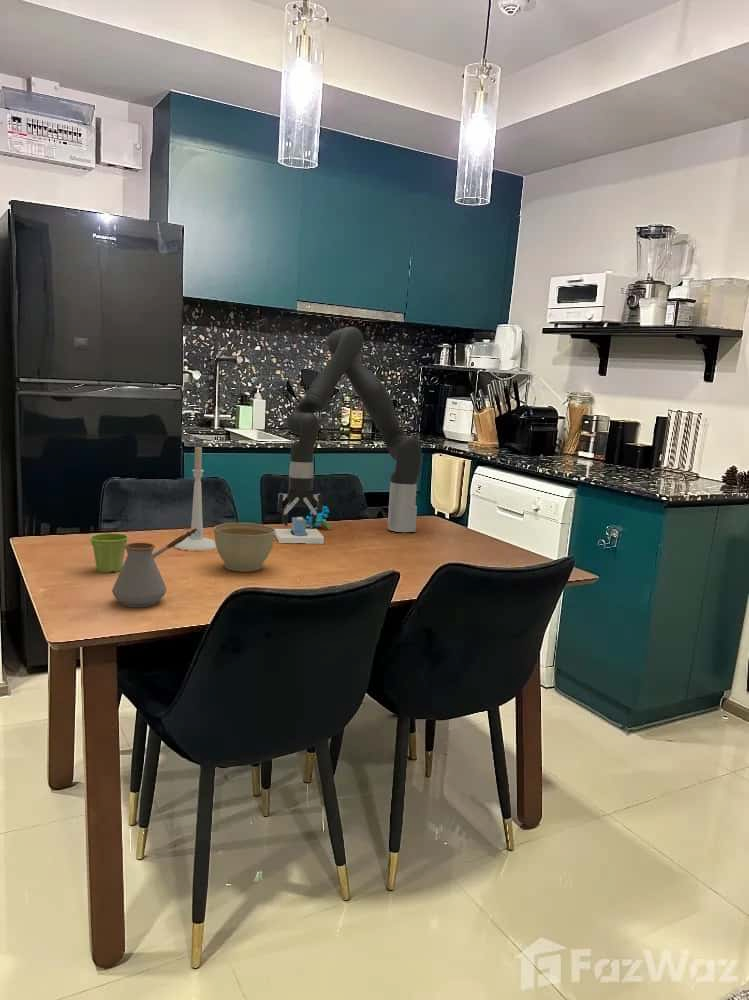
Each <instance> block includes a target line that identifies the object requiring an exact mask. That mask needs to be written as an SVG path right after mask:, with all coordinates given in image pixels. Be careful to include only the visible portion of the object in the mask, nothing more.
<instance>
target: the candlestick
mask: <svg viewBox="0 0 749 1000" xmlns="http://www.w3.org/2000/svg"><path fill="white" fill-rule="evenodd" d="M202 453H203V448H202V447H201V446H200V447H199V445H198V446H197V447H194V469H192V470H191V471H192V473H193V474H192V476H193V477H194V482H193V495H192V496H193V497H192V511H191V512H192V513H191V524H190V525H191V526H190V531H191V530H193V529H195V528H196V529H197V530H198V531H199V532H200V534H199V532H198V531H196V532H195V533H196V534H197V535H198V536H197V535H195V533H192V534H191V536H190V537H189V536H188V537H187V538H186V539H184V540H183V541H182V542H180V543H178V544H177V545H175V547H177V548H180V549H186V550H210V549H215V548H216V544H215V539H214V540H213V539H212V538H208V537H204V533H203V532H204V529H203V527H204V526H203V502H202V501H203V499H202V498H203V497H202V496H203V495H202V494H203V493H202V478H203V476H204V474H203V473H204V472H205V470H204V469H202V466H203V465H202V463H203V461H202V460H203V458H202V457H203V454H202ZM199 535H200V536H199ZM215 550H216V549H215Z"/></svg>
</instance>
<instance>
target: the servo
mask: <svg viewBox="0 0 749 1000" xmlns="http://www.w3.org/2000/svg"><path fill="white" fill-rule="evenodd" d="M306 520H307V519H306V518H304V516H297V517H296V516H294V517H293V516H292V517H291V528H290V529H291V531H292V533H291V534H292V535H294V536H306V533H305V530H306V529H307V527H306Z"/></svg>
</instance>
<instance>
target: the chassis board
mask: <svg viewBox="0 0 749 1000" xmlns="http://www.w3.org/2000/svg"><path fill="white" fill-rule="evenodd" d="M274 529H275V535H276V537H277V539H278V541H279V542H278V541H277V542H278V544H279V543H306V544H305V545H313V544H314V545H319V544H321V545H324V544H325V543H324V542H325V537H324V536H323V534H322V533H321V532H320V531H319V530H318V529H317V528H306V530H305V533H306V536H294V535H292V534H291V533H292V531H291V528H274ZM275 535H274V536H275ZM276 537H275V538H276ZM277 539H276V540H277Z"/></svg>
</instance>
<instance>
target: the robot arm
mask: <svg viewBox="0 0 749 1000" xmlns="http://www.w3.org/2000/svg"><path fill="white" fill-rule="evenodd" d="M363 335H364V334H363V332H361V330H359V329H358V328H357V327H355V326H347V327H343V328H340V329H336V330H334V331H332V332H331V333H330V334H329V335H328V338H327V347H328V350H329V351H330V353H331V356H332V357H331V358H330V360H329V361H328V363H327V364H326V365H325V367H324V368H323V369H322V370H321V371H320V372H319V373H318V375H316V377H315V378H314V380H313V381H312V382H311V384H310V386H309V389H307V392H306V394H305V396H304V398H302V400H300V401H299V402H298V404H297V405H296V406H295V407H294V408H293V410H291V413H290V414H289V415H288V418H287V422H286V423H287V429H288V431H289V432H290V433H291V434H294V435H299V440H298V441H297V442H294V443H292V444H291V448H290V464H289V473H288V474H289V475H288V493H282V492H279V493H278V496H277V497H278V498H277V507H276V510H277V512H278V513H280V514H282V524H283V525H284V527H288V523H289V519H288V518H289V515H288V513H289V512H290V511H291V510H292V509H293V508H297V509H298V508H304V509H305V508H306V507H308V509H309V510H310V512H312V514H310V517H311V526H315V525H314V524H316V515H317V514H318V513H322V506H323V495H322V494H321V493H320V492H319V493H317V494H314V493H313V486H314V485H313V484H314V482H313V481H314V463H313V462H314V448H315V445H316V442H317V439H318V435H319V431H320V422H319V418H318V416H317V415H316V413H319V412H322V411H323V410H324V409H325V408H326V406H327V403H328V402H329V400H330V398H331V396H332V394H333V393H334V391H335V389H336V387H337V384H338V383H339V381H340V380H341V378H342V377H343V376H344V374H345V375H346V377H347V378H348V380H349V382H350V384H351V386H352V387H353V389H354V390H355V392H356V394H357V395H358V398H359V400H360V402H361V404H362V405H363V407H364V408H365V410H366V412H367V413H368V415H369V416H370V419H371V420H372V421H373V423H374V425H375V427H376V428H377V430H378V431H379V433H380V436H381V437H382V440H383V441H384V445H385V447H386V449H387V451H388V453H389V456H390V457H391V458H392V459H393V460H395V462H396V463H395V469H394V471H393V472H392V473H391V475H390V483H389V496H388V497H389V499H388V513H387V514H388V515H387V528H388V529H389V530H392V531H396V532H412V531H413V532H414V531H415V532H416V528H417V527H416V526H417V511H418V506H417V505H416V502H417V501H416V498H417V483H418V478H419V477H420V474H421V473H420V471H421V464H422V455H423V454H422V446H421V443H420V442H419V440H418V439H416V438H414V437H410V436H407V435H406V433H405V432H404V430H403V429H402V427H401V426H400V424H399V422H398V421H397V417H396V412H395V408H394V403H393V400H392V397H391V396H390V393H389V392H388V391H387V388H386V386H385V385H384V383H383V382H382V381H381V380H380V378H378V376H376V375H375V374H374V373H373V372H372V371H371V370H370V369H368V368H367V367H366V366H365V365H364V364H363V362H362V361H361V359H360V358H359V354H360V352H361V350H362V349H363V347H364V343H365V341H364V336H363ZM286 499H288V501H289V502H288V503H287V504H286V505H285V507H284V508H283V502H284V501H285V500H286ZM313 499H314V500H315V501H317V506H316V507H317V509H315V507H314V506H313V505H312V504H311V502H312V501H313Z"/></svg>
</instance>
